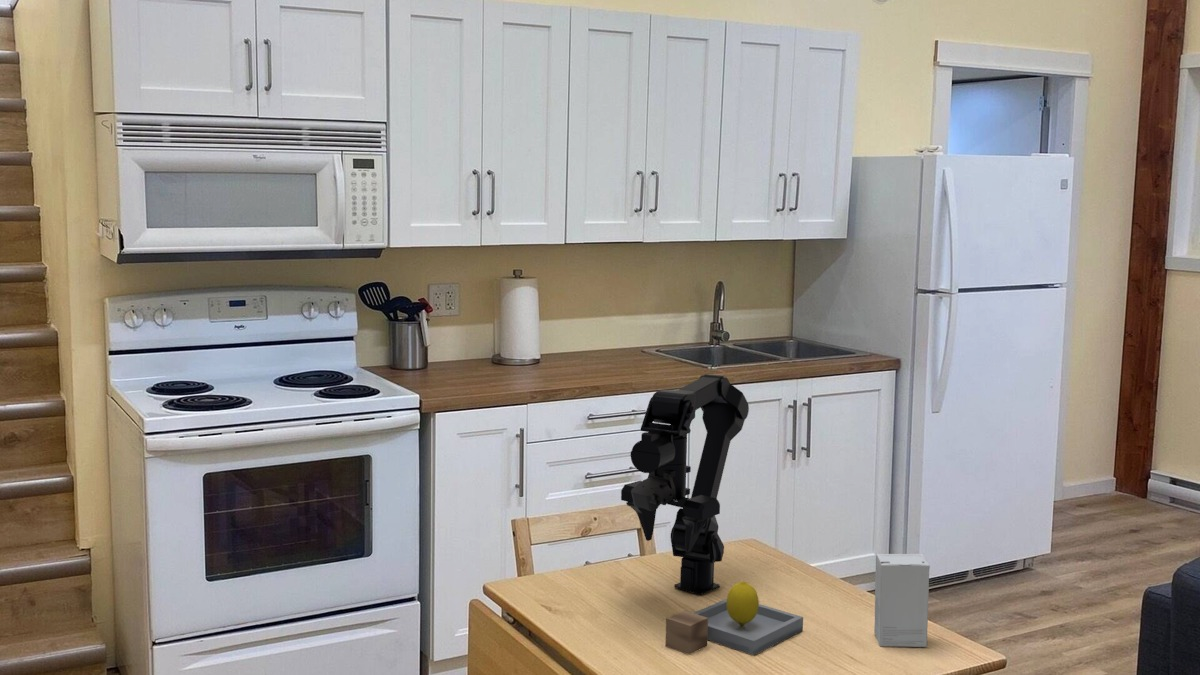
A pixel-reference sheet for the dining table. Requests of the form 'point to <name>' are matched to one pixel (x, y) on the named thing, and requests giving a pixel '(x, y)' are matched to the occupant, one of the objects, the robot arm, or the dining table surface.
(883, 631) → the skincare box
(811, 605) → the dining table surface
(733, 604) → the lemon
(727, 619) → the dish
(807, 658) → the dining table surface
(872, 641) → the dining table surface
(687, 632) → the walnut block
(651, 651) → the dining table surface
